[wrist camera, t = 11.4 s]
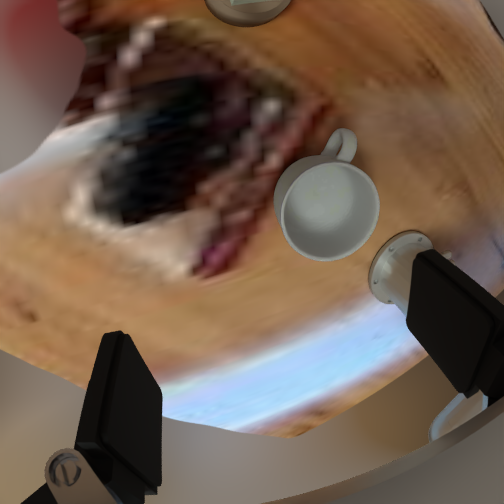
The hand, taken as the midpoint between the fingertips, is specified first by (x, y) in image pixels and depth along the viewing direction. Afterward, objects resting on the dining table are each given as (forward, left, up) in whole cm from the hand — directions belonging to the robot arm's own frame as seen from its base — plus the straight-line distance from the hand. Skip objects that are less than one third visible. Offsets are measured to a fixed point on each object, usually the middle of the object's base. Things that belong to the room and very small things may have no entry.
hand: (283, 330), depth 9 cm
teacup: (-11, +5, -28) cm, 30 cm away
